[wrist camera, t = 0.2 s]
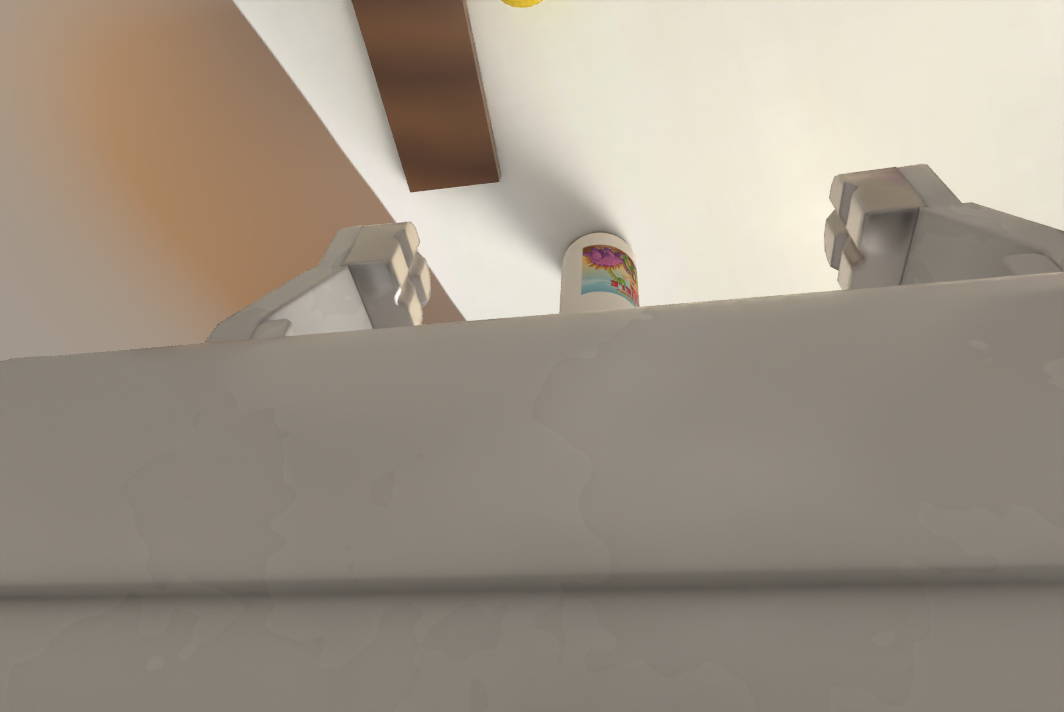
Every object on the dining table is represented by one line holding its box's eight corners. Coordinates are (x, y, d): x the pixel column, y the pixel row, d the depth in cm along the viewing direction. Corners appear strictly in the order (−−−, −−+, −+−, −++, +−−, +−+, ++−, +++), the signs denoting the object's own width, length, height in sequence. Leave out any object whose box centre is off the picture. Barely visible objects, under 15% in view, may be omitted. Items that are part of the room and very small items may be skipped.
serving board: (336, -73, 51) (330, -70, 50) (446, -94, 50) (443, -91, 48) (413, 185, 65) (410, 192, 64) (501, 175, 64) (499, 182, 62)
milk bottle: (596, 303, 73) (597, 436, 58) (547, 260, 70) (534, 390, 55) (650, 262, 69) (666, 395, 54) (601, 215, 66) (603, 342, 51)
